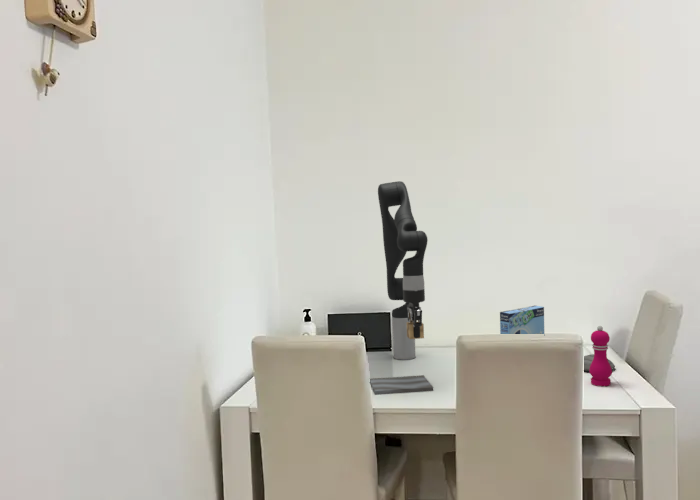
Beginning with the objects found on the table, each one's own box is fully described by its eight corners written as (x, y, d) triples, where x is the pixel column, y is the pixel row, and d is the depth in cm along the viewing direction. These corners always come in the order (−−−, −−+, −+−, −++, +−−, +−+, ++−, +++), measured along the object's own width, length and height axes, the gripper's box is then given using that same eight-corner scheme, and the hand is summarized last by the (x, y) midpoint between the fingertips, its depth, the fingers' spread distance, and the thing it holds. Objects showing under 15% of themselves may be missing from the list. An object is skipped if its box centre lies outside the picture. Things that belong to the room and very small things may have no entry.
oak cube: (406, 336, 233) (406, 322, 232) (420, 335, 233) (420, 321, 233) (409, 339, 228) (409, 324, 227) (423, 338, 228) (423, 324, 228)
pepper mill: (611, 381, 226) (610, 324, 224) (612, 387, 219) (611, 328, 218) (589, 380, 228) (588, 323, 227) (589, 386, 221) (588, 327, 220)
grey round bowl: (574, 373, 239) (573, 359, 238) (570, 363, 253) (570, 349, 253) (618, 374, 235) (617, 359, 235) (611, 364, 250) (611, 350, 249)
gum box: (535, 363, 254) (534, 305, 253) (546, 366, 250) (545, 306, 248) (500, 372, 244) (498, 311, 242) (510, 375, 239) (509, 313, 238)
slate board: (369, 381, 238) (369, 378, 237) (423, 378, 239) (423, 375, 239) (375, 394, 222) (374, 391, 222) (433, 390, 223) (433, 387, 223)
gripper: (399, 286, 236) (400, 332, 237) (407, 291, 222) (408, 340, 223) (419, 285, 237) (421, 331, 238) (429, 290, 222) (430, 339, 224)
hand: (415, 335), depth 230 cm, fingers closed on oak cube, 5 cm apart
